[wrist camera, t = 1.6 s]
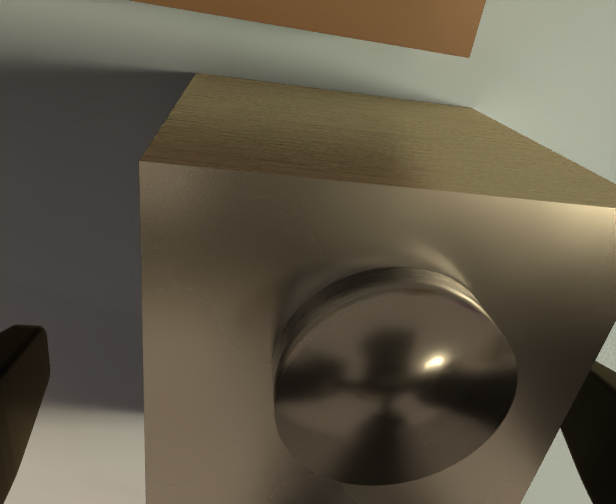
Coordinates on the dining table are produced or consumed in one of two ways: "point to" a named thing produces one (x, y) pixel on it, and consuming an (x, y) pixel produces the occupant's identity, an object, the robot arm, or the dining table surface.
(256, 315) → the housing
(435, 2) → the stand
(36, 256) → the dining table surface
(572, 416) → the robot arm
